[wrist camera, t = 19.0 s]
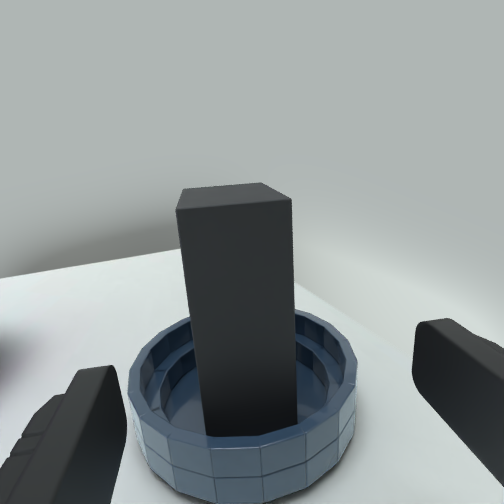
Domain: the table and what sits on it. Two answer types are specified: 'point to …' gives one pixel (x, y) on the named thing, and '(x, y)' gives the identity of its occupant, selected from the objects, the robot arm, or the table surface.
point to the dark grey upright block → (241, 305)
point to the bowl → (243, 447)
